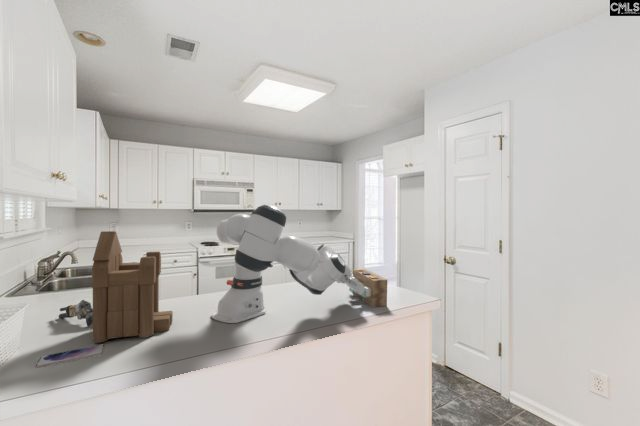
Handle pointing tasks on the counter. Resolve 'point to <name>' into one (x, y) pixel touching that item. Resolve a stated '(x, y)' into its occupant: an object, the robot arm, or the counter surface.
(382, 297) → the console
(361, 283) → the plunger middle
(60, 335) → the counter surface
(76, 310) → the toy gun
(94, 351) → the smartphone
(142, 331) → the castle structure
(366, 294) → the plunger near
